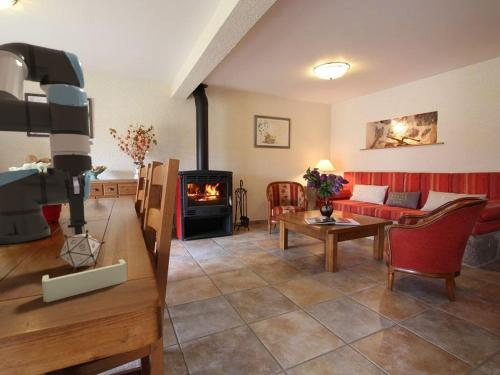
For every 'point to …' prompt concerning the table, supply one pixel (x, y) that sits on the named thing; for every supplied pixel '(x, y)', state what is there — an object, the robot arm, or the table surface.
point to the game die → (80, 250)
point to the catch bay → (83, 281)
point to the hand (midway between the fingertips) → (79, 252)
